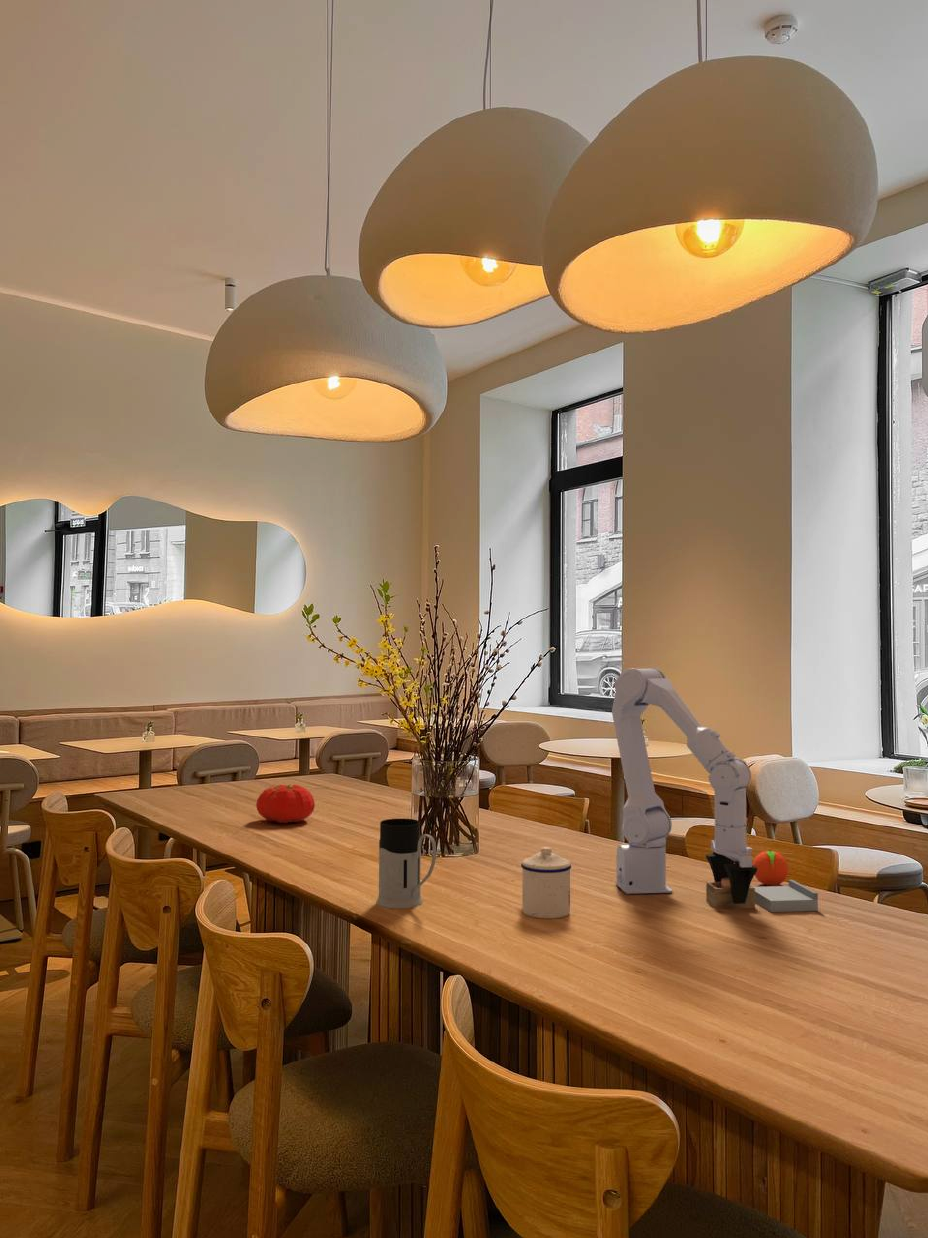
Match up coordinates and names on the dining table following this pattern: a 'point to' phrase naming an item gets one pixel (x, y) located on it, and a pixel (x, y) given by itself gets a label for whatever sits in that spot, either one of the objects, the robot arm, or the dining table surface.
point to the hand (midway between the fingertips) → (730, 897)
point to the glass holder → (401, 863)
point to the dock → (787, 898)
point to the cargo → (725, 883)
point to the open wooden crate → (726, 897)
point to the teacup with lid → (546, 885)
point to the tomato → (285, 803)
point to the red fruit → (770, 868)
